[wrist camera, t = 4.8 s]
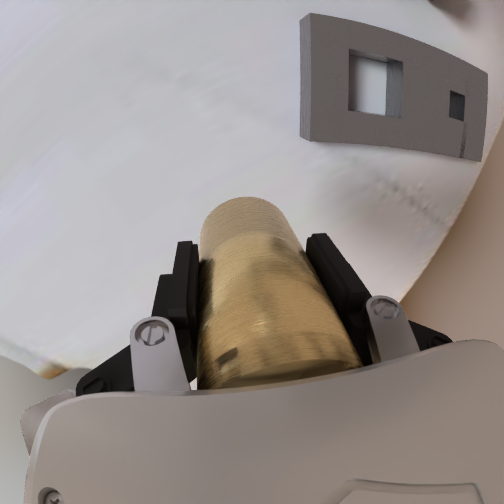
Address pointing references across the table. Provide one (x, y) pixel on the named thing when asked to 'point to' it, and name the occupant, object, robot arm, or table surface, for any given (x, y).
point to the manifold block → (390, 91)
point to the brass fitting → (262, 303)
